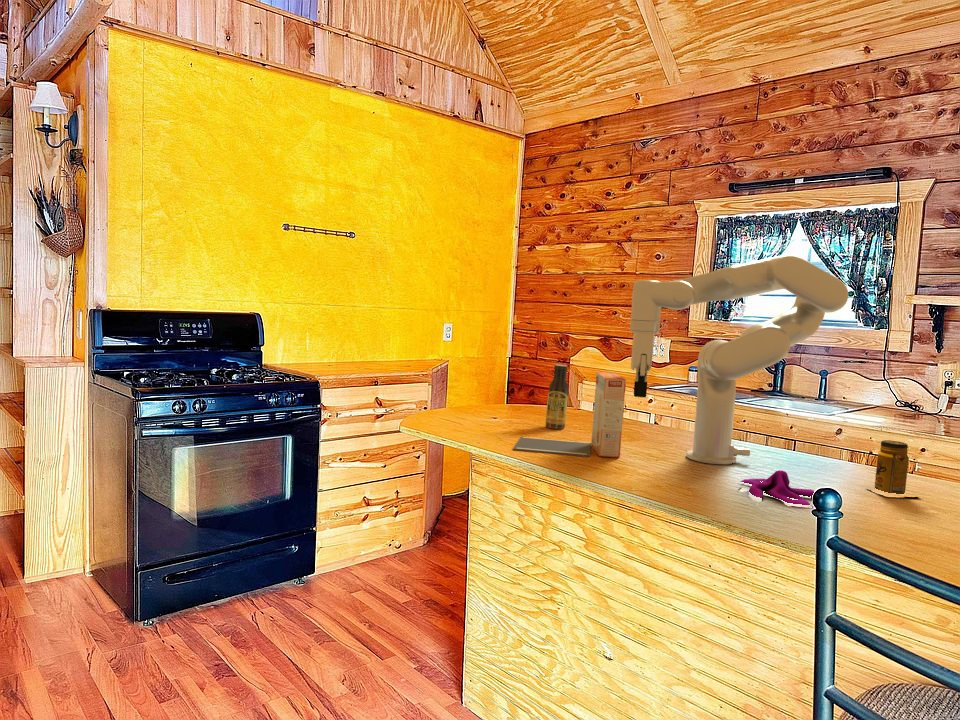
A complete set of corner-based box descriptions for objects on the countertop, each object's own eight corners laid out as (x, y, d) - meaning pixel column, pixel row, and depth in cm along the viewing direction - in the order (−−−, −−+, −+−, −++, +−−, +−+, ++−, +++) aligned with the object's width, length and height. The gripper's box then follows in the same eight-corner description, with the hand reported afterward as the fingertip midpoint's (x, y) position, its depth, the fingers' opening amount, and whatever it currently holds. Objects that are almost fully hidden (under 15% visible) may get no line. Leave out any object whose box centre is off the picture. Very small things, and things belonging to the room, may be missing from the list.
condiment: (865, 489, 160) (870, 438, 159) (899, 490, 161) (904, 439, 160) (886, 498, 153) (892, 445, 152) (922, 499, 154) (928, 446, 153)
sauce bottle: (543, 428, 214) (547, 365, 212) (547, 425, 220) (551, 363, 218) (564, 430, 212) (568, 366, 210) (567, 427, 218) (571, 364, 216)
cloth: (746, 480, 166) (748, 454, 165) (831, 497, 154) (833, 470, 154) (713, 498, 148) (715, 470, 148) (806, 519, 137) (809, 489, 136)
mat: (591, 444, 195) (591, 442, 195) (589, 456, 179) (589, 455, 179) (520, 438, 198) (520, 436, 198) (513, 450, 183) (513, 448, 182)
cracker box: (621, 458, 179) (627, 378, 177) (598, 457, 179) (603, 377, 177) (612, 446, 193) (617, 372, 191) (590, 445, 193) (595, 371, 191)
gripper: (629, 325, 189) (624, 391, 191) (631, 327, 175) (626, 399, 177) (657, 327, 188) (652, 393, 190) (661, 329, 173) (656, 401, 175)
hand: (639, 396), depth 183 cm, fingers closed
